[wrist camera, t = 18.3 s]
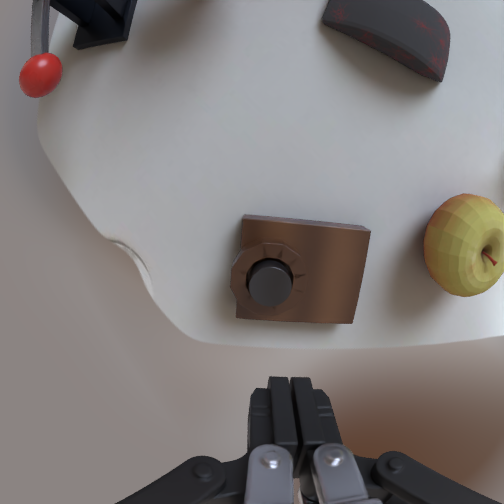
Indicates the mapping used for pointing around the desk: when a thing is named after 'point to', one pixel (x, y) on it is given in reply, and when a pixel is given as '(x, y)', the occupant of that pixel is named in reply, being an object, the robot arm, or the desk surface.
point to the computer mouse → (396, 31)
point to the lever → (40, 56)
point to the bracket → (98, 20)
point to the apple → (465, 245)
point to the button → (269, 283)
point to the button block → (303, 268)
